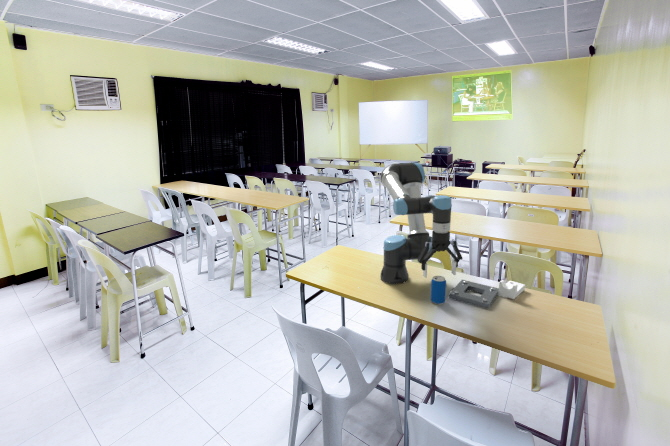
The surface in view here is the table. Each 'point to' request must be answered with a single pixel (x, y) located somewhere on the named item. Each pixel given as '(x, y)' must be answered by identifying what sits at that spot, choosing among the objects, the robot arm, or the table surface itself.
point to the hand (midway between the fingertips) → (439, 275)
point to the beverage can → (438, 289)
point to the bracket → (510, 289)
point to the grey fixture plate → (483, 301)
